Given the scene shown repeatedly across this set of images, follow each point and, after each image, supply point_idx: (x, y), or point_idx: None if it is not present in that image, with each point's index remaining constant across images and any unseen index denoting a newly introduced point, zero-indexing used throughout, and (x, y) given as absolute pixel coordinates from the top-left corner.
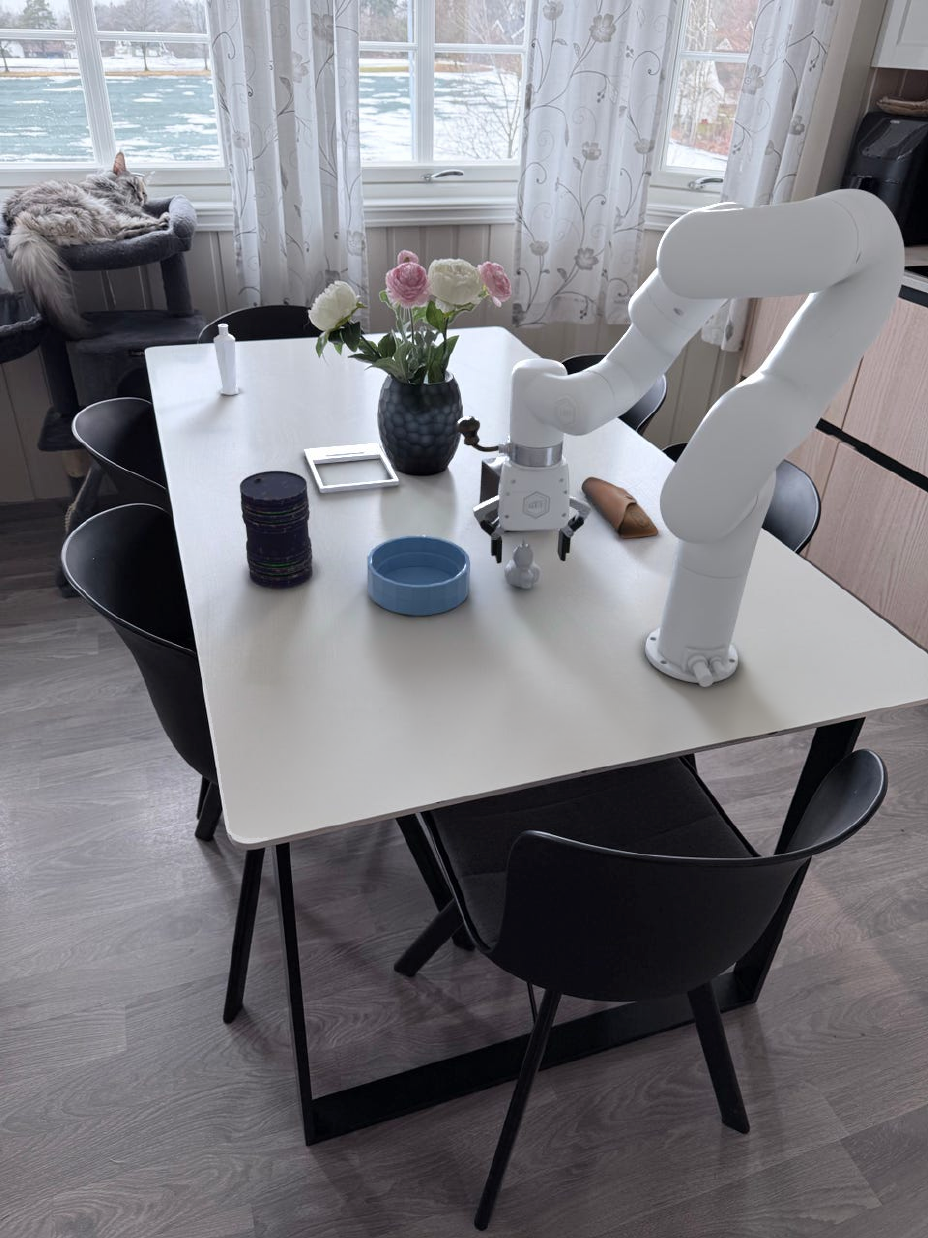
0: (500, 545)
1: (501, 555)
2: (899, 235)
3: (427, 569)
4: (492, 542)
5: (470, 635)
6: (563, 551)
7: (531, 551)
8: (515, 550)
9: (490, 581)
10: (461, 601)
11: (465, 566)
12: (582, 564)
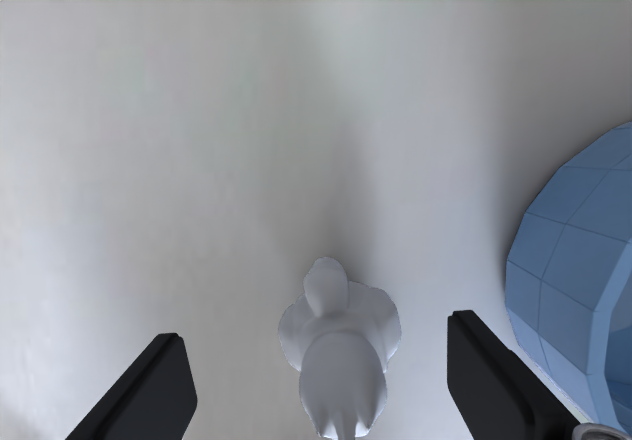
0: (519, 381)
1: (469, 338)
2: None
3: (620, 369)
4: (568, 413)
5: (529, 2)
6: (142, 366)
7: (307, 392)
8: (381, 399)
9: (426, 321)
10: (543, 192)
11: (621, 286)
12: None
